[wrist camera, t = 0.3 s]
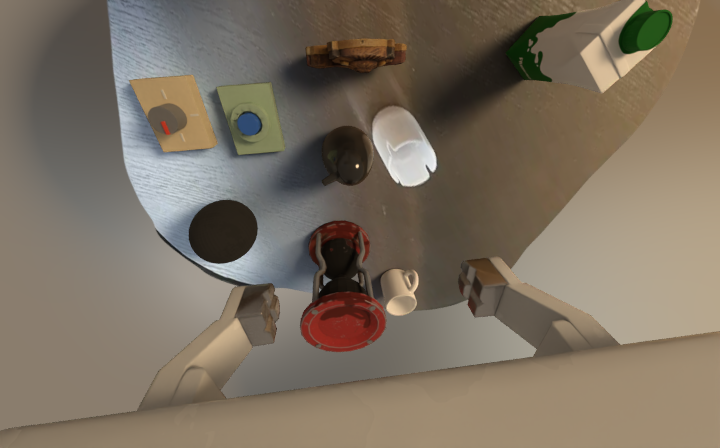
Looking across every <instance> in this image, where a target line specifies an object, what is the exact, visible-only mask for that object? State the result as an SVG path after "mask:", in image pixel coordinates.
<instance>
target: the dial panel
mask: <svg viewBox="0 0 720 448" xmlns="http://www.w3.org/2000/svg"><path fill="white" fill-rule="evenodd" d="M129 82H130V84H131V86H132V88H133V90H134V92H135V94H136V96H137V98H138V100H139V102H140V104H141V106H142V108H143V111H144V113H145V115H146V117H147V119H148V112H149V110H150V109H151V108H153V107H156V106H160V105H163V104H166V103H171V104H174V105H177V106H178V107H180V108H181V109H182V110H183V111H184V113H185V114H186V117H187V124H186V126H185V127H184V128H183V129H181V130H179V131H177V132H175V133H173V134H170V135H166V134H162V133H160V132H158V131H157V130H155V129H154V128H153V127H152V125H151V124H150V125H151V127H152V129H153V131H154V133H155V135H156V137H157V139H158V141H159V144H160V146H161V148H162V150H163V152H173V151H184V150H196V149H207V148H213V147H214V146H215V145H217V144H218V143H217V140H216V137H215V135H214V132H213V129H212V126H211V123H210V121H209V118H208V115H207V112H206V110H205V107H204V104H203V101H202V99H201V96H200V93H199V90H198V87H197V85H196V82H195V79H194V76H193V75H184V76H170V77H156V78H143V79H134V80H129ZM148 121H149V120H148ZM149 123H150V122H149Z"/></svg>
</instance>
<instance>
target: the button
mask: <svg viewBox="0 0 720 448" xmlns="http://www.w3.org/2000/svg"><path fill="white" fill-rule="evenodd" d="M237 125H238V128H239V130H240V131H241V132H242V133H244V134H245V135H249V136H252V135H255V134H256V133H257V132H258V131H259V130H260V127H261V123H260V120H259V118H258V117H257V116H256V115H254V114H253V113H244V114H243V115H241V116H240V117H239V118H238V121H237Z"/></svg>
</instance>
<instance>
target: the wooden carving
mask: <svg viewBox="0 0 720 448" xmlns="http://www.w3.org/2000/svg"><path fill="white" fill-rule="evenodd" d="M406 49H407V46H406V45H405V44H395V40H393V39H390V40H386V39H352V40H343V41H331V42H328V43H327V45H320V46H311V47H306V56H307V65H308V66H310V67H314V68H327V67H347V68H350V69H353V70H355V71H356V72H359V73H367V72H370V71H371V70H372V69H374V68H377V67H381V66H387V65H397V64H401V63H403V62H404V61H405V58H406V57H405V52H406Z"/></svg>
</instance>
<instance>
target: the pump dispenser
mask: <svg viewBox="0 0 720 448" xmlns="http://www.w3.org/2000/svg"><path fill="white" fill-rule="evenodd" d="M373 159H374V152H373V146H372V143H371V141H370V139H369V137H368V136H367V135H366V134H365V133H364V132H363V131H362V130H360V129H359V128H356V127H353V126H342V127H338V128H336V129H334V130H333V131H331V132H330V133H329V134H328V135H327V137H326V138H325V140H324V142H323V145H322V160H323V163H324V166H325V168H326V170H327V172H328V173H329V174H330V175H329V176H327V177H326V178H325V179H323V180H322V184H323V185H324V186H326V185H328V184H330V183H332V182H334V181H337V182H339V183H341V184H343V185H347V186H353V185H357V184H359V183H361V182H362V181H363V180H364V179H365V178H366V177H367V176H368V174H369V172H370V170H371V168H372V165H373Z"/></svg>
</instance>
